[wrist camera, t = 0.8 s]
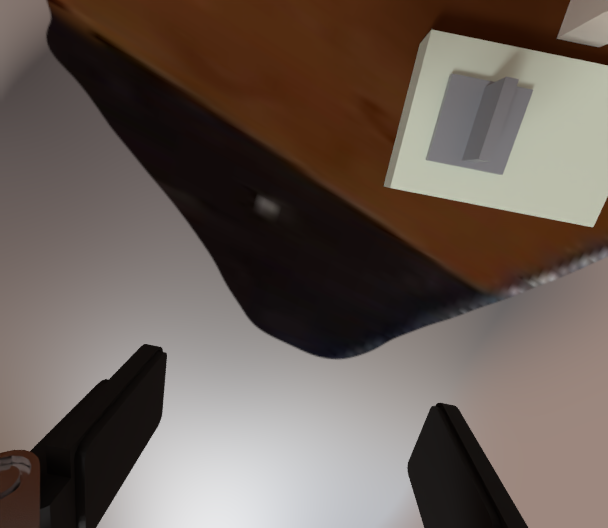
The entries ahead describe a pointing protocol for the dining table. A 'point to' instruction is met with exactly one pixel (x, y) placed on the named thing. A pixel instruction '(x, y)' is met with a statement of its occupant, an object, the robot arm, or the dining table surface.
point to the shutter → (478, 123)
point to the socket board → (529, 141)
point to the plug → (586, 23)
